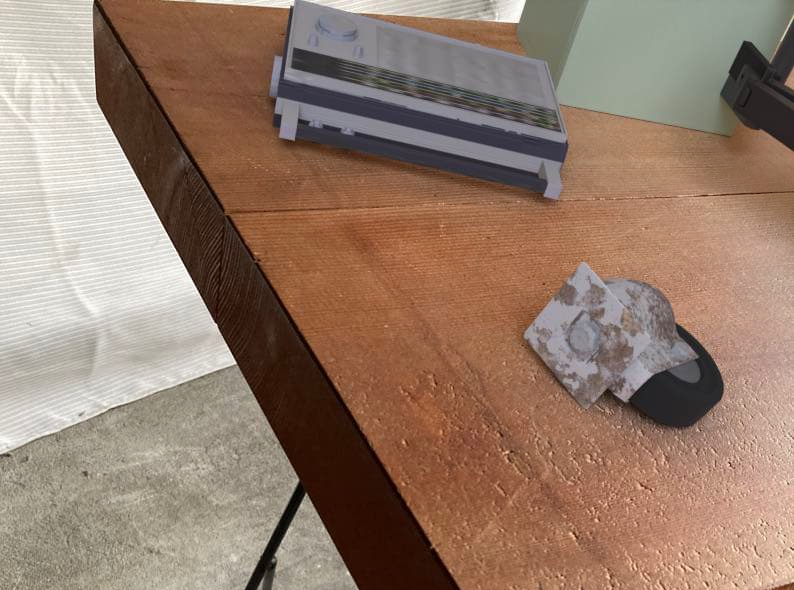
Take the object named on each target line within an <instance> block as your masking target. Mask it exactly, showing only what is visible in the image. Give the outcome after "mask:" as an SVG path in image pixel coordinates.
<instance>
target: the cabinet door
mask: <svg viewBox="0 0 794 590" xmlns="http://www.w3.org/2000/svg"><path fill="white" fill-rule="evenodd" d="M784 34H785V35H784ZM744 40H745V41H749V42H752V43H753V44H754V45H755V47H756V48H757V49H758V50H759V51H760V52H761V53H762V55H763V56H764V57H765V58H766V59H767V60H768V61H769V63H770V64H771V65H772V66H773V67H774V68H777V69H778V70H777V72H778V73H779V74H780V75H781V76H782V78H781V80H780V83H782V84H784V85H786V83H787V80H788V79H789V77H790V75H791V73H792V71H793V69H794V0H584V3H583V6H582V9H581V12H580V14H579V17H578V20H577V23H576V26H575V28H574V31H573V34H572V37H571V39H570V42H569V45H568V48H567V51H566V53H565V56H564V59H563V62H562V64H561V67H560V70H559V73H558V76H557V78H556V81H555V84H554V88H555V92H556V95H557V99H558V102H559V105H560V106H566V107H572V108H576V109H581V110H582V109H583V110H588V111H592V112H598V113H605V114H608V115H609V114H610V115H613V116H619V117H625V118H630V119H635V120H640V121H646V122H652V123H657V124H663V125H666V126H667V125H668V126H672V127H677V128H684V129H689V130H694V131H698V132H704V133H705V132H706V133H710V134H716V135H720V136H726V137H732V136H733V134H734V133H735V131H736V128H737V127H738V125H739V123H741V124H742V125H743V126H744V127H746V128H747V129H750V130H754V131H760V130H762V129H761V128H759V127H758V126H756V125H755V124H753V123H752V122H751V121H749V120H748V119H746V118H745V117H743V116H742V115H741V114H739V113H738V112H736V111H735V110H734V109H732V105H733V103H734V101H735V99H736V97H737V95H738V93H739V91H740V89H741V88H740V86H738V84H737V83H736V81H735V80H734V79H733V78H732V76H731V75H730V74H729V73H728V72H729V70H730V68H731V66H732V64H733V62H734V60H735V58H736V55H737V53H738V51H739V49H740V47H741V45H742V43H743V41H744Z"/></svg>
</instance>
